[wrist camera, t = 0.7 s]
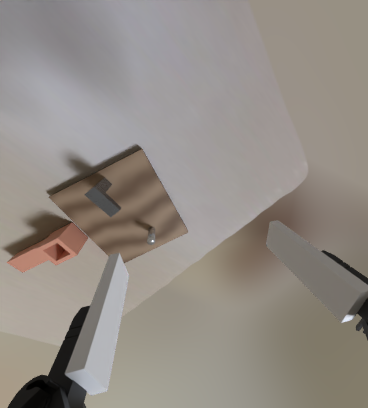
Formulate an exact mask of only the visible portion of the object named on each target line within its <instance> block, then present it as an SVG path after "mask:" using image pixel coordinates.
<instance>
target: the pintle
mask: <svg viewBox="0 0 368 408" xmlns="http://www.w3.org/2000/svg"><path fill="white" fill-rule="evenodd" d="M147 243H148V244H149V245H153V244H154V243H155V228H154V227H149V228H148V238H147Z"/></svg>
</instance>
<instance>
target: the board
mask: <svg viewBox="0 0 368 408" xmlns="http://www.w3.org/2000/svg"><path fill="white" fill-rule="evenodd" d="M103 178H106V179H107V180H108V181H110V182H111V183H112V185H111V187H110V188H109V189H108V190H107V191H106V194H107V195H109V196H110V197H111V198H112V199H113V200H114V201H115V202H116V203H117V204H118V205H119V206H120V207H121V210H120V211H119V212H117V213H116V214H115V215H113V216H112V217H110V216H109V215H107V214H106V213H105V212H104V211H103V210H102V209H100V208H99V207H98V206H97V205H96V204H95V203H93V202H92V201H91V200H90V199H89V198H87V197H86V196H85V195H84V194H86V193H87V192H88V191H89V190H90V189H91V188H92V187H94V186H95V185H96V184H97V183H98V182H100V181H101V180H102V179H103ZM49 198H50V199H51V200H52V201H53V202H54V203H55V204H56V205H57V206H58V207H59V208H60V209H61V210H62V211H63V212H64V213H65V214H66V215H67V216H68V217H69V218H70V219H71V220H72V221H73V222H74V223H75V224H76V225H78V226H79V227H80V228H81V229H82V230H83V231H84V232H85V233H86V234H87V235H88V236H89V237H90V238H91V239H92V240H93V241H94V242H95V243H96V244H97V245H98V246H99V247H100V248H101V249H102V250H103V251H104V252H105V253H106V254H107V255H108V256H110V255H111V254H116V253H120V255H121V257H122V260H123V262H124V263H126V262H128V261H130V260H132V259H134V258H136V257H138V256H140V255H142V254H144V253H146V252H148V251H151V250H153V249H155V248H157V247H159V246H161V245H163V244H165V243H167V242H169V241H171V240H173V239H176V238H178V237H180V236H182V235H184V234H186V233H188V230H187V228H186V226H185V224H184V223H183V221H182V219H181V217H180V215H179V214H178V212H177V210H176V208H175V206H174V205H173V203H172V201H171V199H170V198H169V196H168V194H167V192H166V190H165V189H164V187H163V185H162V183H161V181H160V180H159V178H158V176H157V174H156V173H155V171H154V169H153V167H152V165H151V164H150V162H149V160H148V158H147V156H146V155H145V153H144V151H143V149H141V150H139V151H137V152H135V153H133V154H131V155H129V156H127V157H125V158H123V159H121V160H119V161H117V162H115V163H113V164H111V165H110V166H108V167H106V168H104V169H102V170H100V171H98V172H96V173H94V174H92V175H90V176H88V177H86V178H84V179H82V180H80V181H78V182H76V183H75V184H73V185H71V186H69V187H67V188H65V189H63V190H61V191H59V192H57V193H55V194H53V195H51V196H50V197H49ZM149 227H154V228H155V243H154V244H153V245H149V244H148V243H147V238H148V228H149Z"/></svg>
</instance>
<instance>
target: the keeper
mask: <svg viewBox="0 0 368 408" xmlns="http://www.w3.org/2000/svg"><path fill="white" fill-rule="evenodd" d="M111 185H112V183H111V182H110V181H108V180H107V179H106V178H103V179H102V180H101V181H100V182H98V183H97V184H96V185H95V186H94V187H92V188H91V189H90V190H89V191H88V192H87V193H86V194H84V195H85V196H86V197H87V198H89V199H90V200H91V201H92V202H93V203H95V204H96V205H97V206H98V207H99V208H100V209H102V210H103V211H104V212H105V213H106V214H107V215H109V216H110V217H112V216H113V215H115V214H116V213H117V212H119V211H120V210H121V207H120V206H119V205H118V204H117V203H116V202H115V201H114V200H113V199H112V198H111V197H110V196H109V195H107V194H106V191H107V190H108V189H109V188H110V187H111Z"/></svg>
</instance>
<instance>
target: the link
mask: <svg viewBox="0 0 368 408" xmlns="http://www.w3.org/2000/svg"><path fill="white" fill-rule="evenodd" d="M87 239H88V237H87V236H86V235H85V234H84V233H83V232H82V231H81V230H80V229H79V228H78V227H77V226H76V225H75V224H74V223H73V222H72V223H70V224H68V225H66V226H64V227H62V228H60V229H58V230H56V231H54V232H52V233H51V234H50V235H49V236H48V237H47V238H46V239H44V240H42V241H40V242H38V243H36V244H34V245H32V246H30V247H28V248H27V249H25V250H23V251H21V252H19V253H17V254H16V255H15V256H14V257H12V258H11V259H10V260H9V261H8V262H7V263H8V264H10V265H12V266H13V267H15V268H16V269H18V270H19V271H21V272H22V273H23V272H25V271H27V270H29V269H31V268H33V267H35V266H37V265H39V264H41V263H43V262H45V261H47V260H50V261H51V262H52V263H54V264H55V265H58V264H60V263H62V262H64V261H66V260H68V259H70V258H72V257H74V256H76V255H78V253H79V251H80V250H81V248H82V247H83V245H84V244H85V242H86V240H87Z"/></svg>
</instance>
